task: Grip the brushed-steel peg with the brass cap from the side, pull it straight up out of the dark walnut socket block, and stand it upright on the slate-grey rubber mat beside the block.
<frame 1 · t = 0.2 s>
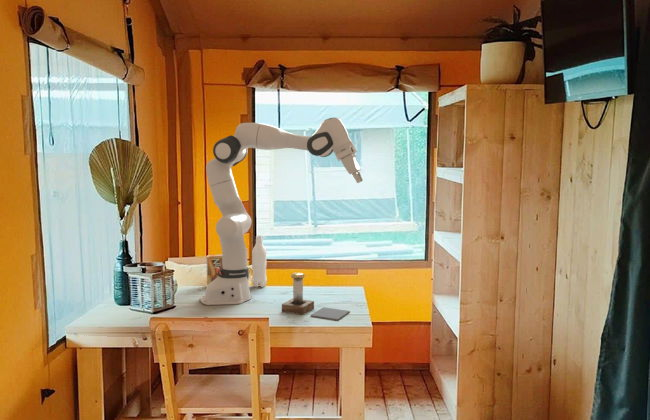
hand: (360, 182, 222), 53 cm above the table, tool tilted 25°, fingers open, 8 cm apart
steel peg: (298, 291, 219), in the socket block
water bottle: (259, 286, 258), on the table
candy box: (216, 286, 258), on the table
socket block: (298, 309, 220), on the table
rubber mat: (330, 314, 213), on the table
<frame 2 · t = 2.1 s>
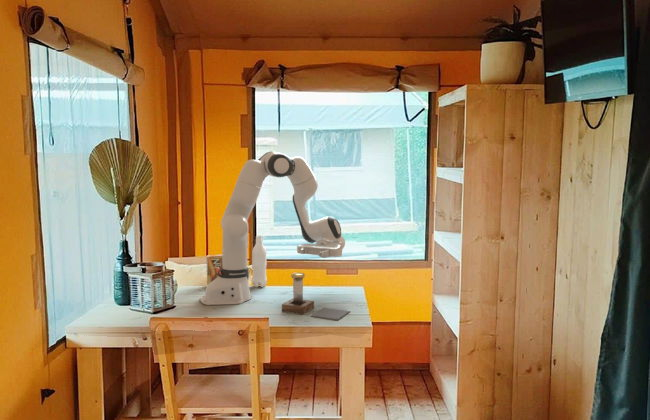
hand: (311, 253, 228), 22 cm above the table, tool horizontal, fingers open, 8 cm apart
nothing on the table moved.
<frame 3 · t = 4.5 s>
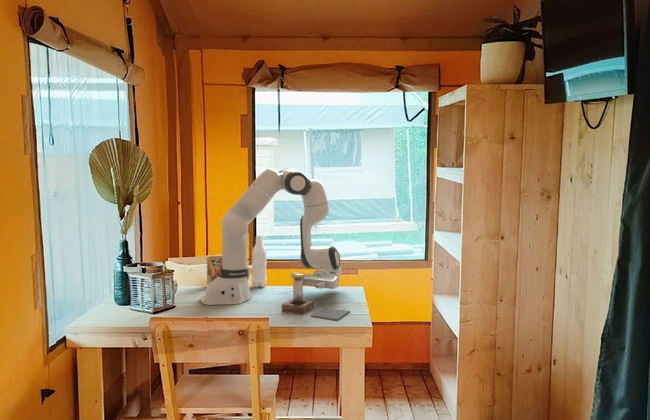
hand: (307, 285, 227), 8 cm above the table, tool horizontal, fingers open, 8 cm apart
nothing on the table moved.
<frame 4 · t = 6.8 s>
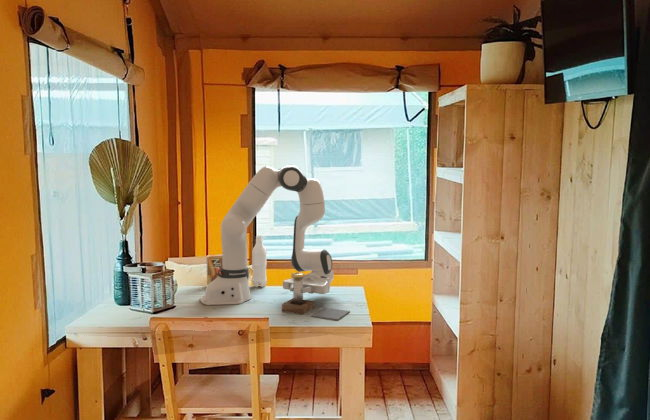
hand: (297, 290, 218), 9 cm above the table, tool horizontal, fingers closed on steel peg, 4 cm apart
steel peg: (298, 291, 219), in the socket block, touching gripper
everything else where it was.
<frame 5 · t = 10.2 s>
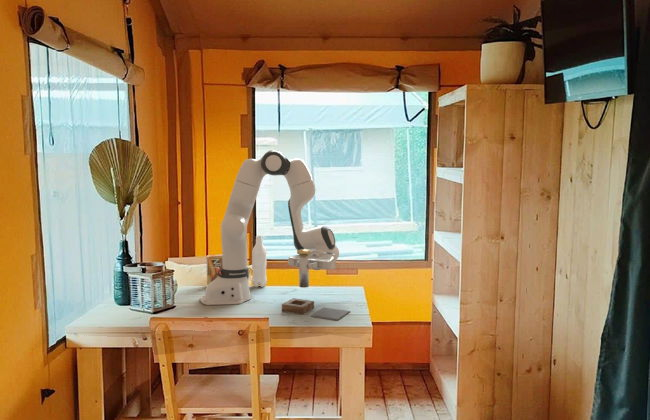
hand: (302, 265, 216), 19 cm above the table, tool horizontal, fingers closed on steel peg, 4 cm apart
steel peg: (303, 268, 217), point 18 cm above the table, touching gripper
everything else where it was.
when the fingers open (11 cm above the table, at t = 13.5 s): steel peg stays where it is, resting on rubber mat.
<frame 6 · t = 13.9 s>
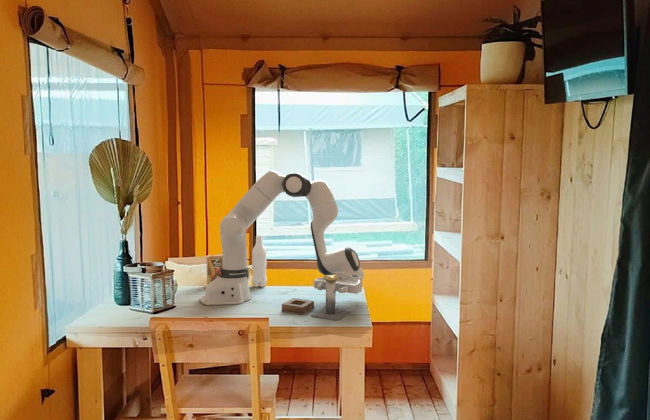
hand: (329, 289, 212), 11 cm above the table, tool horizontal, fingers open, 8 cm apart
steel peg: (330, 294, 213), on the rubber mat, point 8 cm above the table
everything else where it was.
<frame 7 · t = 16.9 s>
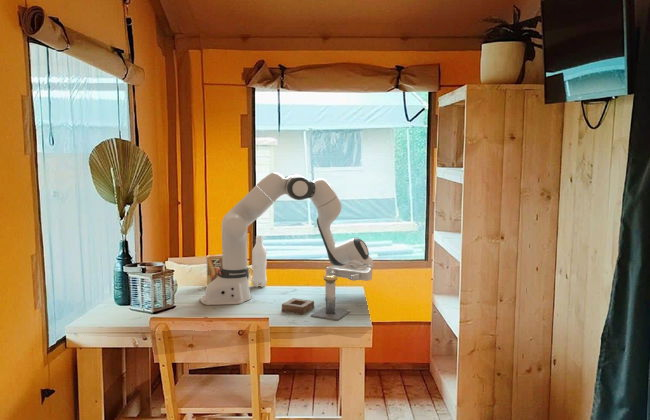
hand: (341, 276, 223), 13 cm above the table, tool horizontal, fingers open, 8 cm apart
nothing on the table moved.
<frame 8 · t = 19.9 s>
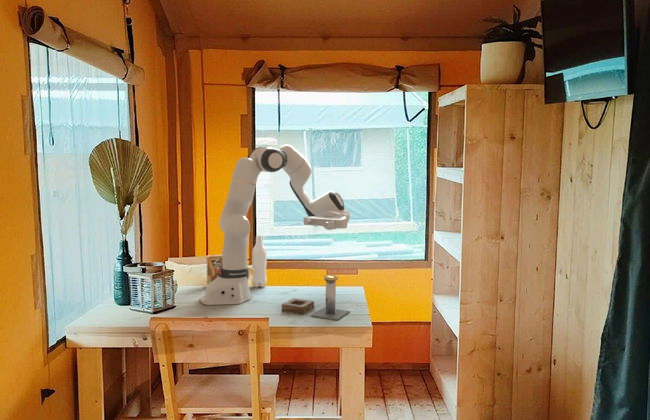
hand: (317, 223, 234), 34 cm above the table, tool horizontal, fingers open, 8 cm apart
nothing on the table moved.
at the end: steel peg 0.1 cm from the rubber mat (horizontally); steel peg tilted 0°; steel peg point 8.2 cm above the table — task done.
